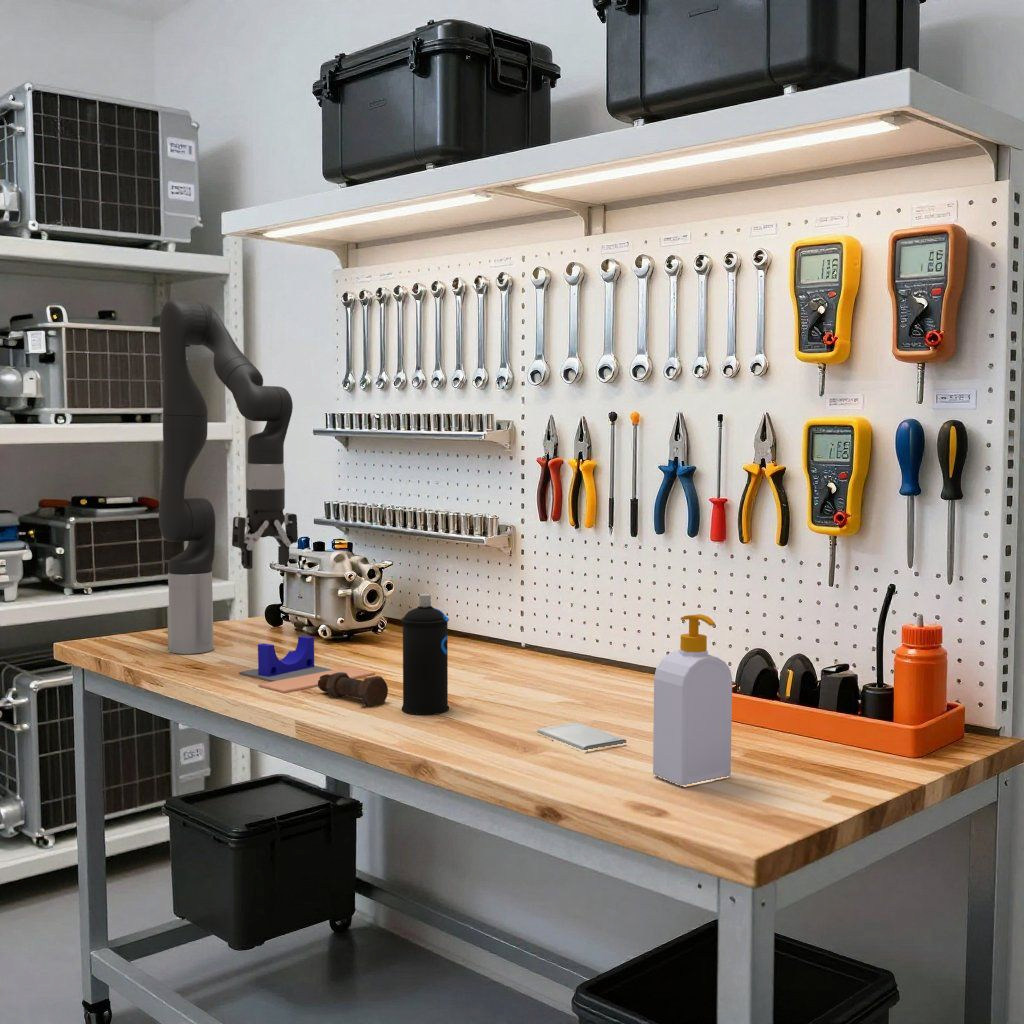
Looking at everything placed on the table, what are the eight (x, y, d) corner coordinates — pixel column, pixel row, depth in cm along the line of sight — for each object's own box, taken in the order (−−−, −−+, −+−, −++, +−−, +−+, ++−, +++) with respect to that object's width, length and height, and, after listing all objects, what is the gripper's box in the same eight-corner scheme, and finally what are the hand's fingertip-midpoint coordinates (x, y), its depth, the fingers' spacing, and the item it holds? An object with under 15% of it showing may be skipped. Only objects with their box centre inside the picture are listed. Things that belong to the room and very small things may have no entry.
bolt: (327, 702, 212) (380, 713, 202) (307, 692, 209) (361, 703, 199) (338, 672, 214) (392, 681, 204) (319, 662, 211) (373, 671, 200)
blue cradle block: (299, 664, 235) (298, 634, 234) (314, 666, 232) (314, 637, 232) (253, 673, 225) (252, 643, 225) (268, 676, 223) (268, 646, 222)
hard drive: (626, 738, 176) (579, 720, 187) (583, 746, 172) (537, 727, 182) (626, 749, 176) (578, 730, 187) (583, 757, 172) (537, 738, 182)
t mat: (221, 677, 224) (221, 675, 224) (312, 660, 240) (312, 658, 240) (284, 693, 211) (284, 690, 211) (375, 674, 227) (375, 672, 227)
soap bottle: (685, 790, 154) (687, 621, 153) (652, 777, 160) (654, 614, 158) (735, 779, 159) (737, 615, 157) (701, 767, 165) (703, 608, 163)
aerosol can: (409, 717, 193) (408, 599, 192) (395, 706, 201) (395, 592, 199) (455, 712, 196) (455, 596, 195) (440, 702, 204) (440, 590, 202)
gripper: (283, 484, 237) (283, 561, 239) (224, 486, 227) (224, 567, 228) (305, 486, 232) (305, 565, 234) (246, 488, 222) (246, 572, 223)
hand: (265, 566), depth 231 cm, fingers open, 8 cm apart
